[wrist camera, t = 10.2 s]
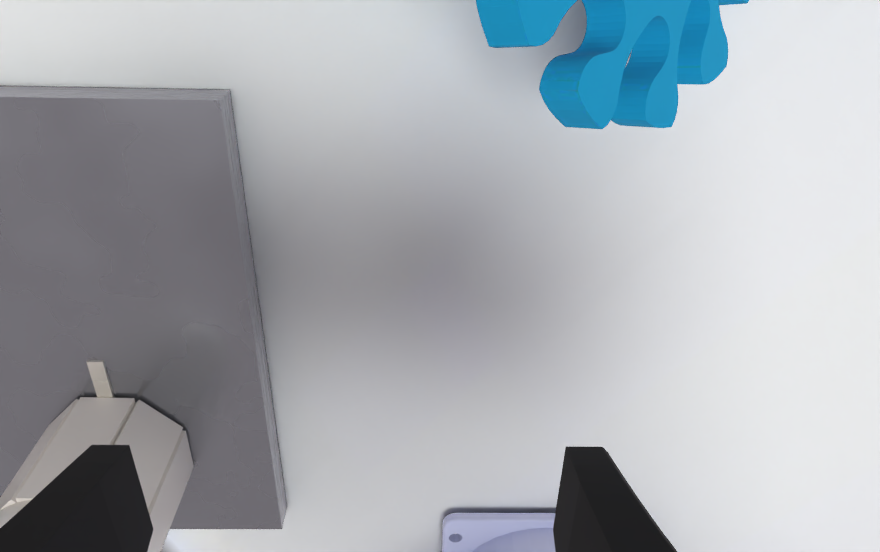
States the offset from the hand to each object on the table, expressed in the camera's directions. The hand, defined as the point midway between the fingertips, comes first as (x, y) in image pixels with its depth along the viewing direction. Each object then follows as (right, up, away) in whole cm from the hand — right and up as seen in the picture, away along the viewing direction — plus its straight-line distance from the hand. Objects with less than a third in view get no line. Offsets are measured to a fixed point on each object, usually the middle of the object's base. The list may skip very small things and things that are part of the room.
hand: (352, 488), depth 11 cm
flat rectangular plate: (-9, +2, +10) cm, 14 cm away
